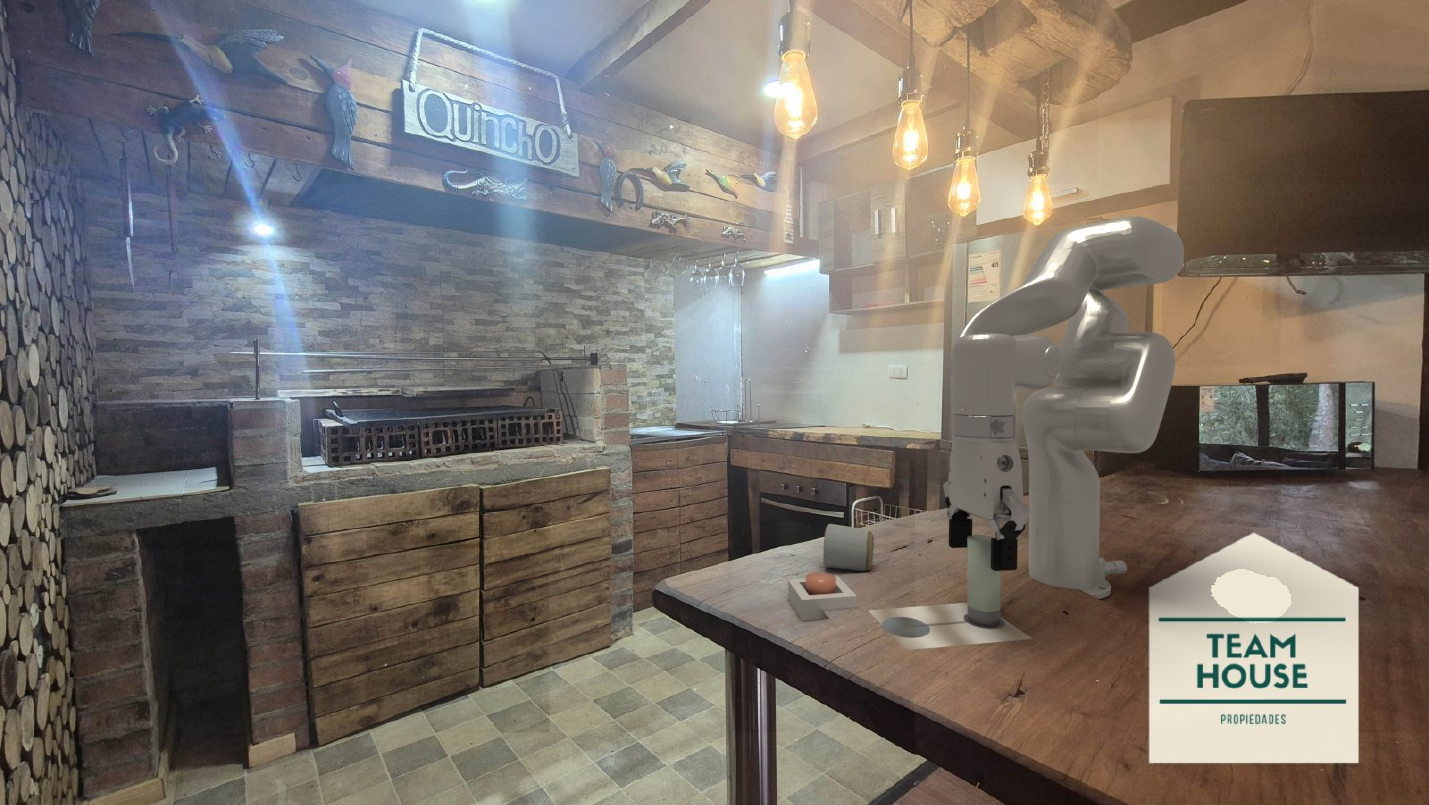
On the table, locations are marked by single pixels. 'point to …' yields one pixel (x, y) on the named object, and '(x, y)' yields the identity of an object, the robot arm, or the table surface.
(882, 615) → the board
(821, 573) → the button
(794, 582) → the button housing
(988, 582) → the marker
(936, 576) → the table surface
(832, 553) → the ceramic mug
